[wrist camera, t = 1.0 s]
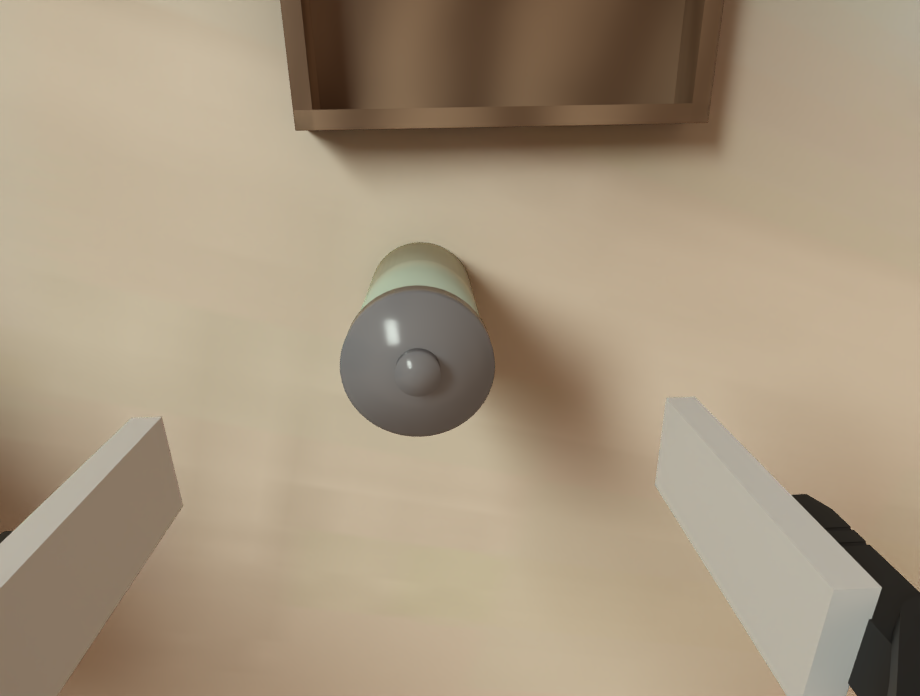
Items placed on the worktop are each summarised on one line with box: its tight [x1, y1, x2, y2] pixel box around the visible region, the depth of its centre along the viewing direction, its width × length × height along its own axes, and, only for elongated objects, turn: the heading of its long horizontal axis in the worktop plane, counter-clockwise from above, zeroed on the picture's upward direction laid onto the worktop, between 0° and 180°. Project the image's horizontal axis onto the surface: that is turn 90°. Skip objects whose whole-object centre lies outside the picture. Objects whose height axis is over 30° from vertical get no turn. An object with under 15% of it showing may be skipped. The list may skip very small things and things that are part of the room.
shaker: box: [340, 242, 495, 436], centre depth 24 cm, size 6×6×11 cm
